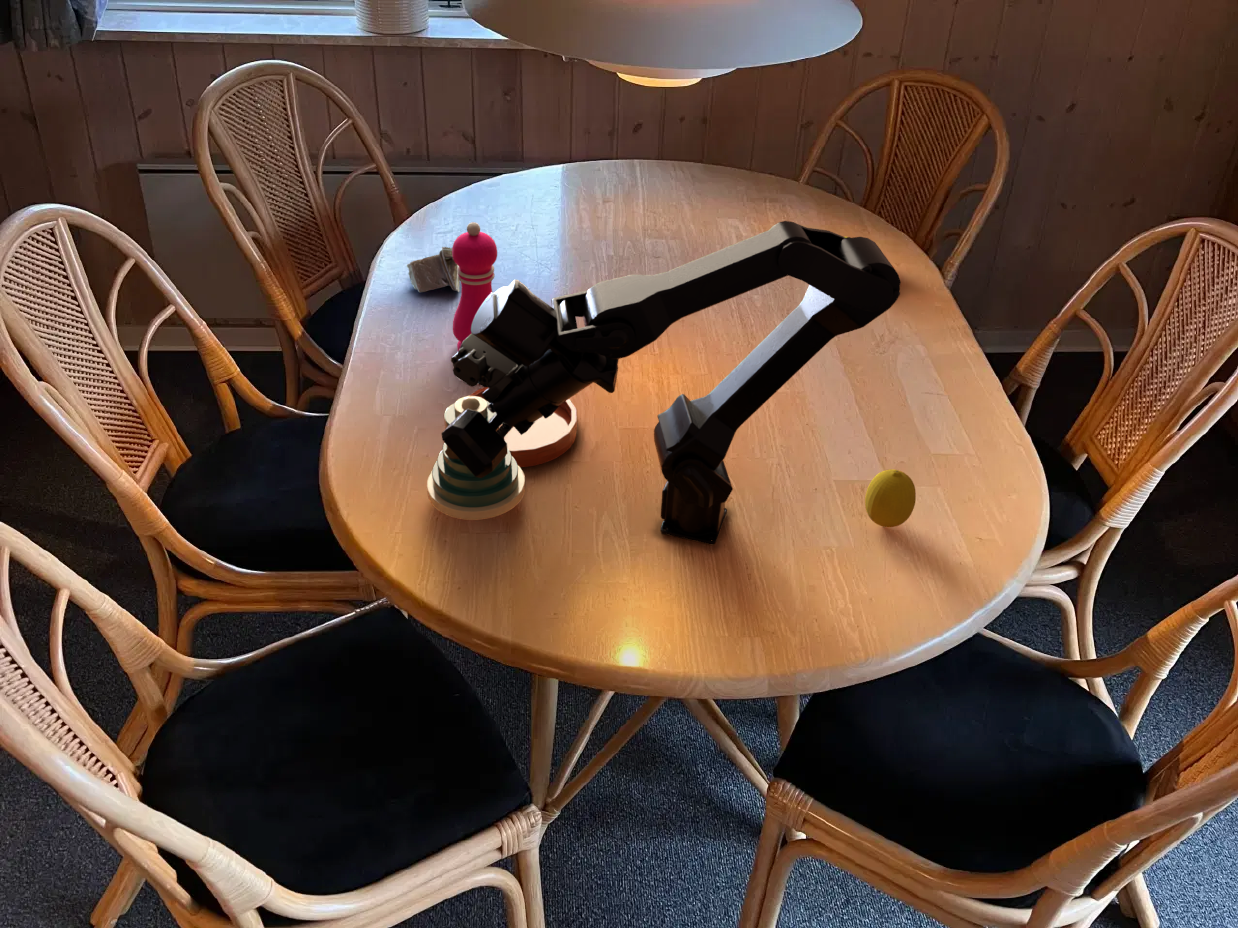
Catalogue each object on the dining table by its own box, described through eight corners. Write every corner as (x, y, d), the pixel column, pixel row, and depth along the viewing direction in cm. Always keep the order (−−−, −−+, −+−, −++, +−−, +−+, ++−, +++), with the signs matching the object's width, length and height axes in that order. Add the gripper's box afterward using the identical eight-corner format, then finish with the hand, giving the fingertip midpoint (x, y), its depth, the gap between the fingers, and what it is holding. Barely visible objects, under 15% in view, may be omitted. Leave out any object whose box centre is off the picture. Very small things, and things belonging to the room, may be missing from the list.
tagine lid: (539, 471, 125) (537, 381, 117) (502, 528, 116) (498, 435, 109) (452, 452, 127) (444, 363, 120) (410, 507, 119) (399, 415, 111)
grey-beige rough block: (416, 263, 172) (392, 238, 161) (457, 251, 172) (436, 225, 160) (429, 317, 171) (406, 296, 159) (470, 305, 170) (451, 283, 159)
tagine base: (592, 411, 139) (593, 394, 137) (551, 479, 127) (551, 461, 125) (485, 389, 142) (484, 373, 141) (435, 453, 130) (433, 436, 129)
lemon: (877, 546, 119) (890, 491, 114) (850, 517, 123) (862, 462, 118) (917, 534, 121) (932, 479, 116) (889, 506, 125) (902, 452, 120)
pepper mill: (480, 336, 154) (473, 207, 142) (516, 353, 150) (512, 222, 138) (443, 355, 149) (433, 223, 137) (479, 373, 146) (472, 239, 134)
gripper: (538, 279, 114) (455, 346, 123) (452, 361, 100) (366, 429, 109) (604, 358, 116) (518, 417, 126) (529, 448, 102) (438, 507, 112)
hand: (462, 439), depth 118 cm, fingers closed on tagine lid, 6 cm apart
